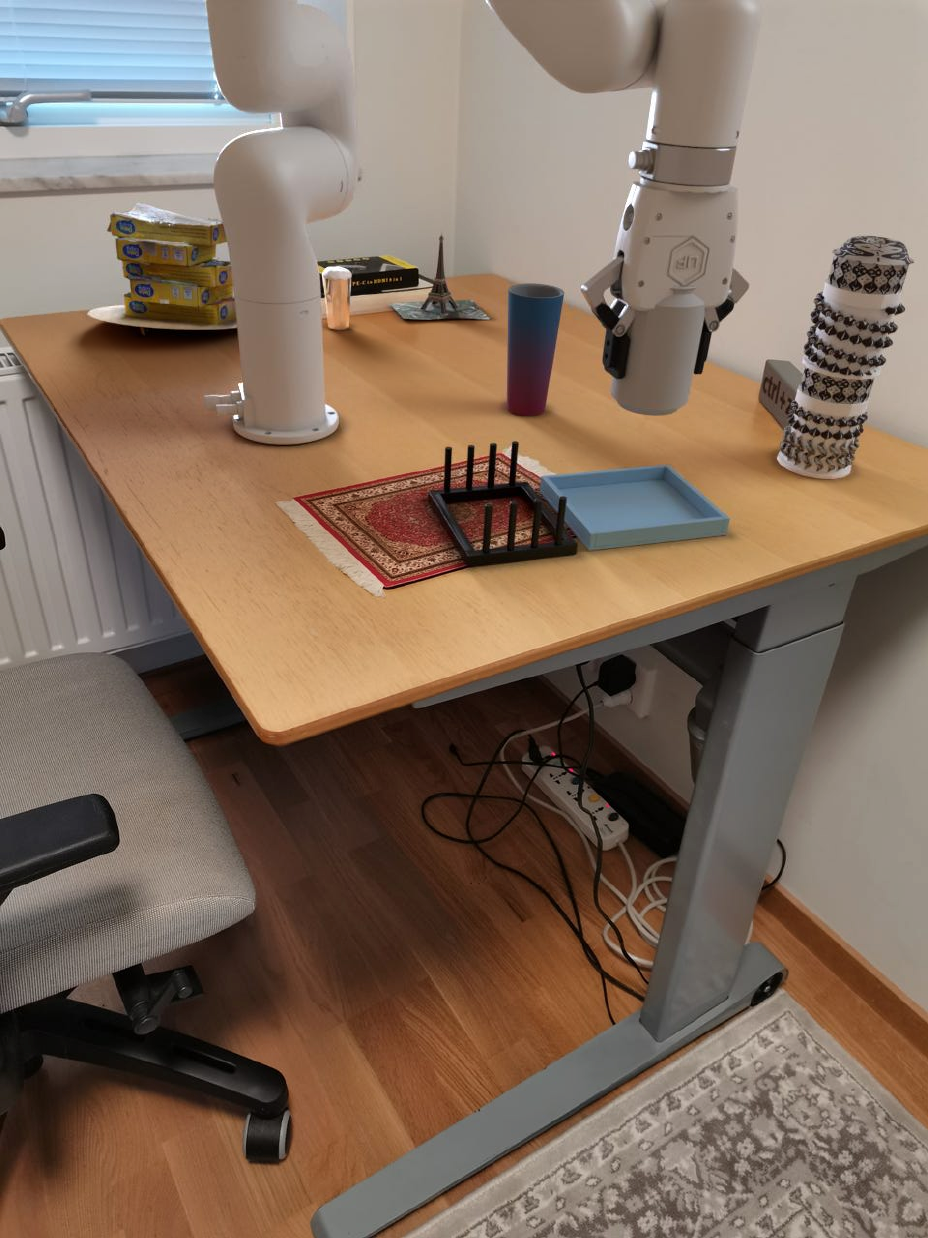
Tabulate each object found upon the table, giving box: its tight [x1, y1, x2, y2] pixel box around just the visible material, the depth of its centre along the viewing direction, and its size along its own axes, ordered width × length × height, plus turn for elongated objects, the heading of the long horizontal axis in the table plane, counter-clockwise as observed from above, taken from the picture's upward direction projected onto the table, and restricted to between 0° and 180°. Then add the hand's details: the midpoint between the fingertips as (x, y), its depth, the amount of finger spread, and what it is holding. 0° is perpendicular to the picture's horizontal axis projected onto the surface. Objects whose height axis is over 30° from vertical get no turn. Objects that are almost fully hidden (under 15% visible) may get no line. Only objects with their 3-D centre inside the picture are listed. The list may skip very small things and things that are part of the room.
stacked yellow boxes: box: [87, 202, 237, 336], centre depth 135 cm, size 25×25×17 cm
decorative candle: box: [776, 235, 915, 480], centre depth 100 cm, size 9×9×25 cm
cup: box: [506, 282, 565, 417], centre depth 114 cm, size 7×7×15 cm
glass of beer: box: [321, 261, 357, 331], centre depth 141 cm, size 4×5×10 cm
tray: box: [539, 463, 731, 552], centre depth 94 cm, size 15×13×2 cm
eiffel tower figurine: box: [389, 228, 491, 320], centre depth 150 cm, size 15×10×13 cm
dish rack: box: [427, 440, 579, 568], centre depth 89 cm, size 11×14×6 cm
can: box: [609, 286, 706, 417], centre depth 85 cm, size 8×8×12 cm
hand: (653, 370), depth 86 cm, fingers closed on can, 7 cm apart
